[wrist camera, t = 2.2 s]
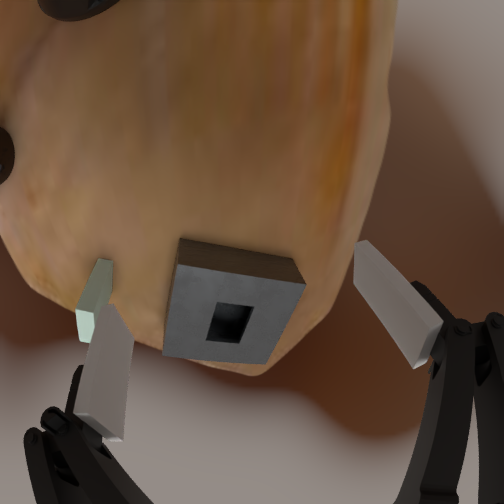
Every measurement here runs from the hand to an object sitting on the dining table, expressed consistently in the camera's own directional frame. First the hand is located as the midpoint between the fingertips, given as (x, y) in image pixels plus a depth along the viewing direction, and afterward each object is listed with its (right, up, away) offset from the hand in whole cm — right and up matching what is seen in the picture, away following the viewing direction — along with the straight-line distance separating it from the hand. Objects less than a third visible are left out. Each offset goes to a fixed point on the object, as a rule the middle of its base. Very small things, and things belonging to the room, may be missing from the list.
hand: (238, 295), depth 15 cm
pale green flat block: (-23, -2, +27) cm, 35 cm away
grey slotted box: (-4, -5, +33) cm, 33 cm away
